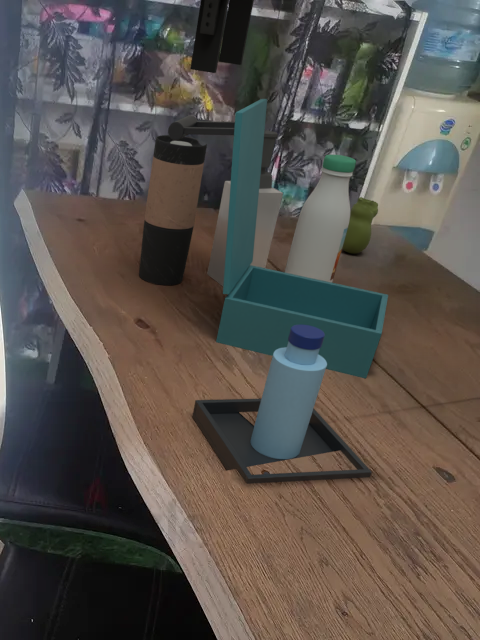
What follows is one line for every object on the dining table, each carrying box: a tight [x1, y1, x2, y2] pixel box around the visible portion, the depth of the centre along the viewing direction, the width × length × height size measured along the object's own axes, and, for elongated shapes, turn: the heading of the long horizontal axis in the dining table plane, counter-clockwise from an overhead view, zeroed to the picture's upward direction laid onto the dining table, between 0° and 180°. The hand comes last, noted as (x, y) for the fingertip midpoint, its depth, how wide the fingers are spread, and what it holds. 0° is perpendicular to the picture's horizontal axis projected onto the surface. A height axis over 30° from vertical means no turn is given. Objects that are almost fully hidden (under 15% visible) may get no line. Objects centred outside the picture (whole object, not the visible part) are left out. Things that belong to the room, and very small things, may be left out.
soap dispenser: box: [206, 129, 284, 287], centre depth 114 cm, size 6×9×22 cm
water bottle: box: [251, 325, 327, 460], centre depth 73 cm, size 5×5×13 cm
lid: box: [167, 98, 268, 295], centre depth 95 cm, size 20×16×10 cm
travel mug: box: [138, 134, 208, 286], centre depth 112 cm, size 8×8×20 cm
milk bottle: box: [284, 154, 357, 283], centre depth 114 cm, size 8×8×20 cm
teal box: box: [215, 265, 389, 379], centre depth 99 cm, size 20×16×7 cm
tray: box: [192, 398, 373, 485], centre depth 77 cm, size 15×13×2 cm
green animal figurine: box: [342, 196, 379, 255], centre depth 137 cm, size 6×5×10 cm
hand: (217, 67), depth 84 cm, fingers open, 13 cm apart
